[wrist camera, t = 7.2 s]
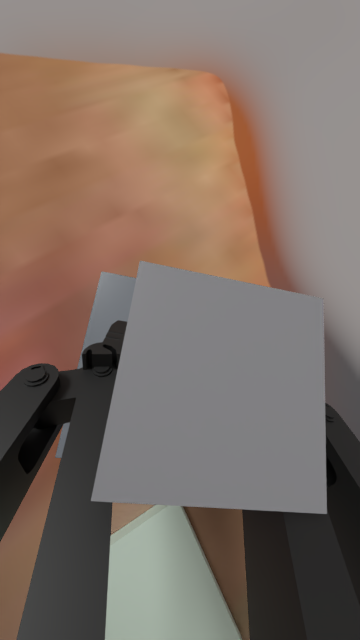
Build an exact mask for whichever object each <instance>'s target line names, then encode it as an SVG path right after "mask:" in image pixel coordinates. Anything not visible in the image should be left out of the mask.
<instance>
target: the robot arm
mask: <svg viewBox="0 0 360 640" xmlns="http://www.w3.org/2000/svg"><path fill="white" fill-rule="evenodd" d="M126 327H127V322H126V321H120V320H117V321H116V322H115V323H113V324H112V325H111V327H110V328H109V330H108V332H107V334H106V336H105V338H104V340H103V342H100V343H95V344H92V345H89V346H88V347H87V348H85V349H84V351H83V353H82V363H83V367H82V368H80V369H75V370H68V371H60V372H58V369H57V368H56V367H55V366H53V365H50V364H36V365H31V366H29V367H27V368H25V369H23V370H21V371H20V372H19V373H18V374H16V375H15V376H14V378H13V379H12V380H11V381H10V382H9V383H8V384H7V385H6V386H5V387H4V388H3V389H2V390H1V391H0V541H1V539H2V537H3V536H4V534H5V532H6V530H7V528H8V526H9V524H10V523H11V521H12V519H13V517H14V515H15V513H16V511H17V509H18V508H19V506H20V504H21V502H22V500H23V498H24V496H25V495H26V493H27V491H28V489H29V487H30V485H31V483H32V481H33V480H34V478H35V476H36V474H37V472H38V470H39V468H40V467H41V465H42V463H43V461H44V459H45V457H46V455H47V454H48V452H49V450H50V448H51V446H52V444H53V442H54V440H55V439H56V437H57V435H58V433H59V431H60V429H61V427H62V426H63V424H65V423H69V422H70V425H69V429H68V433H67V437H66V441H65V445H64V449H63V453H62V457H61V461H60V465H59V470H58V474H57V478H56V482H55V486H54V490H53V494H52V498H51V502H50V506H49V510H48V514H47V518H46V522H45V526H44V530H43V534H42V538H41V542H40V547H39V551H38V555H37V559H36V563H35V567H34V571H33V575H32V579H31V583H30V587H29V591H28V595H27V599H26V603H25V607H24V611H23V615H22V619H21V624H20V628H19V632H18V636H17V640H105V628H106V610H107V592H108V573H109V555H110V536H111V518H112V502H99V501H91V497H92V492H93V488H94V483H95V478H96V473H97V468H98V463H99V458H100V453H101V449H102V444H103V439H104V434H105V429H106V424H107V419H108V414H109V410H110V405H111V400H112V395H113V390H114V385H115V380H116V375H117V371H118V366H119V361H120V356H121V351H122V346H123V341H124V336H125V331H126ZM325 426H326V488H327V514H317V513H299V512H281V511H263V510H244V509H242V513H243V530H244V547H245V564H246V581H247V597H248V614H249V631H250V640H360V442H359V441H358V439H357V438H356V436H355V435H354V434H353V432H352V431H351V430H350V429H349V427H348V426H347V425H346V423H345V422H344V421H343V419H342V418H341V417H340V415H339V414H338V413H337V412H336V411H335V410H334V409H333V408H332V407H331V406H329V405H328V404H326V403H325Z"/></svg>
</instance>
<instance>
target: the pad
mask: <svg viewBox="0 0 360 640" xmlns="http://www.w3.org/2000/svg"><path fill="white" fill-rule="evenodd" d="M105 640H242V637H241V634H240V632H239V630H238V628H237V626H236V623H235V621H234V619H233V617H232V614H231V612H230V610H229V608H228V606H227V603H226V601H225V599H224V597H223V594H222V592H221V590H220V588H219V585H218V583H217V581H216V579H215V577H214V574H213V572H212V570H211V568H210V565H209V563H208V561H207V559H206V557H205V554H204V552H203V550H202V548H201V545H200V543H199V541H198V539H197V537H196V534H195V532H194V530H193V528H192V525H191V523H190V521H189V519H188V517H187V514H186V512H185V510H184V508H183V506H171V505H155V506H153V507H152V508H150V509H149V510H148V511H146V512H145V513H143V514H142V515H140V516H139V517H137V518H136V519H134V520H133V521H131V522H130V523H129V524H127V525H126V526H124V527H123V528H121V529H120V530H118V531H117V532H115V533H114V534H112V535H111V536H110V555H109V573H108V592H107V610H106V628H105Z"/></svg>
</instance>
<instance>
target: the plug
mask: <svg viewBox="0 0 360 640" xmlns="http://www.w3.org/2000/svg"><path fill="white" fill-rule="evenodd" d="M323 304H324V302H323V298H319V297H314V296H309V295H304V294H299V293H294V292H290V291H285V290H280V289H275V288H270V287H265V286H261V285H256V284H251V283H246V282H241V281H236V280H231V279H226V278H222V277H217V276H212V275H207V274H202V273H197V272H192V271H187V270H183V269H178V268H173V267H168V266H163V265H158V264H153V263H148V262H144V261H140V263H139V268H138V273H137V278H136V283H135V288H134V292H133V297H132V302H131V307H130V312H129V317H128V322H127V327H126V331H125V336H124V341H123V346H122V351H121V356H120V361H119V366H118V371H117V375H116V380H115V385H114V390H113V395H112V400H111V405H110V410H109V414H108V419H107V424H106V429H105V434H104V439H103V444H102V449H101V453H100V458H99V463H98V468H97V473H96V478H95V483H94V488H93V492H92V497H91V501H99V502H117V503H135V504H153V505H171V506H190V507H208V508H226V509H244V510H263V511H281V512H299V513H317V514H327V488H326V426H325V364H324V305H323Z"/></svg>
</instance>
